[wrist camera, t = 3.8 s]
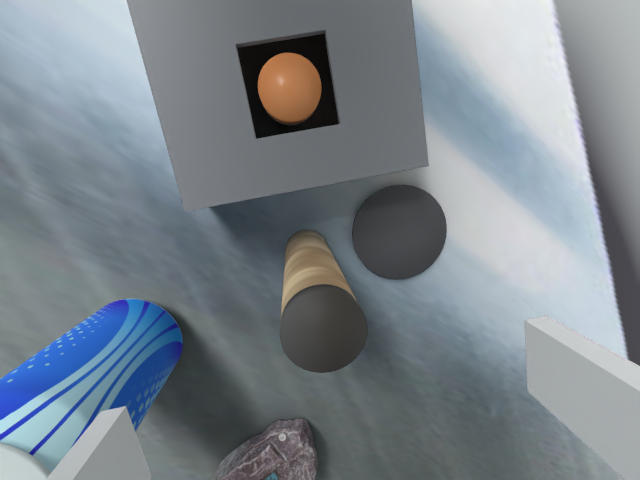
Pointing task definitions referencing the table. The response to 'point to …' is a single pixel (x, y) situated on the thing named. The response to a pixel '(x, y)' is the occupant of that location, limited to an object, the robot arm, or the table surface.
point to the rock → (273, 455)
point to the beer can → (84, 384)
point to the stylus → (318, 308)
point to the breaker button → (289, 88)
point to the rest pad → (399, 231)
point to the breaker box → (233, 106)
